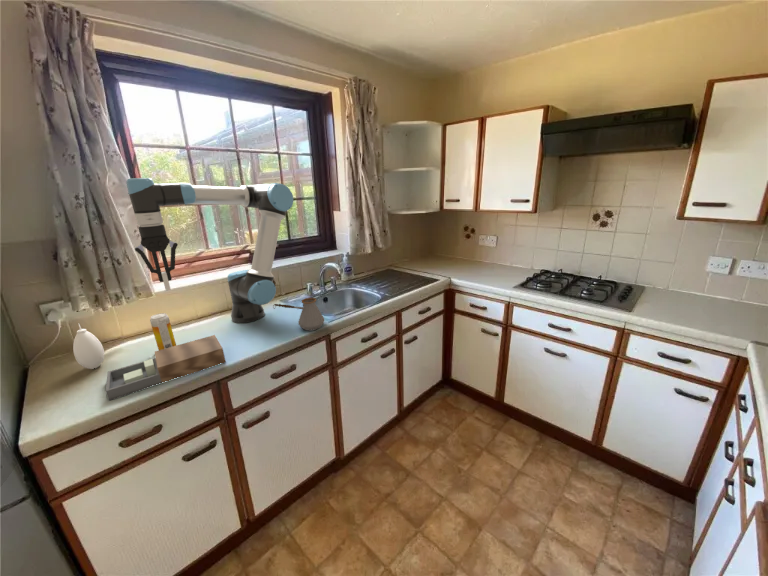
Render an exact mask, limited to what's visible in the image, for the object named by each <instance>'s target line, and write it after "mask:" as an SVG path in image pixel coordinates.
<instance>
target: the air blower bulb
mask: <svg viewBox="0 0 768 576" xmlns="http://www.w3.org/2000/svg"><path fill="white" fill-rule="evenodd" d="M77 324H78V327H79V329H78V330H77V331H76V335H75V336H74V339H73V345H72V346H73V347H72V348H73V349H72V350H73V355H74V358H75V360H76V362H77V363H78V365H80V366H81V367H83V368H84V369H89V370H92V369H93V370H95V369H97V368H99V367H100V366H101V364H102V363H104V359H105V350H104V346H103V344H102V342H101V341H100V340H99V339H98V337H97V336H96V335H94V334H93V333H92V332H90V331H88V330H87V328H82V326H81V325H80V323H79V322H78V323H77ZM94 368H95V369H94Z"/></svg>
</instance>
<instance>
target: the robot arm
mask: <svg viewBox="0 0 768 576" xmlns="http://www.w3.org/2000/svg"><path fill="white" fill-rule="evenodd" d="M126 188H127V194H128V196H129V199H130V203H131V207H132V210H133V213H134V217H135V221H136V225H137V226H138V232H139V236H140V239H141V240H140V244H139V245H138V246H134V250H135V252H136V253H138V254H139V255H140V257H141V258H142V261H143V262H144V263H145V265H146V266H147V268H148V270H149V271H150V273H151V274H157V277H158V281H159V283H163V285H164V289H165V292H166V291H171V290H172V289H171V286H170V285H171V284H170V282H169V281H172V279H173V278H172V274H171V271H173V270H175V269H176V250H177V247H178V243H177V242H176V241H172V240H170V238H169V237H168V235H167V231H166V227H165V225H164V220H163V215H162V212H161V207H167V206H179V205H180V206H181V205H185V206H187V205H207V206H208V205H214V206H215V205H216V206H221V205H222V206H228V205H229V206H242V207H243V208H252V209H257V210H258V212H259V214H260V218H259V226H258V230H257V235H256V241H255V246H254V250H253V251H254V252H253V257H252V261H251V262H252V263H251V266H250V268H249V269H243V270H239V271H233V272H231V273H229V274H228V275H227V283H228V288H229V292H230V296H231V302H232V306H231V307H232V308H231V314H230V318H231V321H232V322H233V323H236V324H237V323H238V324H245V323H252V322H255V321H257V320H260V319H261V318H263V317H264V316H265V309H264V307H263V305H264V306H265V305H266V304H269V303H270V302H272V301H273V299H274V298H275V297H276V292H277V288H276V285H275V283H274V278H275V275H274V274H273V273H272V270H273V265H274V260H275V254H276V248H277V244H278V243H277V242H278V239H279V238H278V237H279V234H280V233H279V232H280V227H281V224H282V223H281V222H282V221H283V220H284V219H286V216H287V212H288V211H289V210H290V209H291V208H292V207H293V205H294V195H293V193H292V191H291V189H290V188H289V187H288V186H287V185H285V184H283V183H278V182H273V183H272V182H271V183H260V184H257V183H256V184H250V185H244V184H242V185H240V187H238V186H237V187H236V186H221V185H220V186H219V185H218V186H217V185H197V184H196V185H195V184H193V185H192V183H189V182H174V183H172V182H171V183H169V182H168V183H155V182H154V180H153V179H152V178H151V177H138V178H137V177H135V178H134V177H133V178H132V177H131V178H127V179H126ZM168 245H169V247H170V265H169V263H168V259H167V255H166V251H165V250H167V247H168ZM144 248H145V249H146V250H147V251H149V252H150V253H151V255H152V258H153V263H154V265H155V268H154V267H153V265H152V263H151V262H150V260H149V258H148V257H147V255H146V254H145V252H144V250H145V249H144ZM157 252H160V255H161V259H162V263H163V266H164V268H163V269H164V271H162V270H161V266H160V262H159V258H158V255H157V254H158V253H157Z"/></svg>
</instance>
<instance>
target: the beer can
mask: <svg viewBox="0 0 768 576" xmlns="http://www.w3.org/2000/svg"><path fill="white" fill-rule="evenodd" d="M170 321H171V320H170V317H169V315H168V313H164V312H163V313H156V314H153V315H151V316H150V319H149V322H150V326H151V329H152V332H153V336H154V339H155V342H156V346H157V349H158V350H157V351H159V350H162V349H166V348H169V347H173V346H177V343H176V340H175V335H174V331H173V329H172V328H173V327H172V326H171V325H172V324H171V322H170Z"/></svg>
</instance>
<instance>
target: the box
mask: <svg viewBox="0 0 768 576" xmlns="http://www.w3.org/2000/svg"><path fill="white" fill-rule="evenodd" d="M152 359H153V363H154V366H155V369H156V375H152V376H149V377H148V376H147V372H146V369H145V365H144V361H145V360H144V361H140V362H136V363H134V364H130V365H126V366H123V367H119V368H115V369H112V370H109V371H107V375H106V385H105V393H106V396H107V399H108V401H112V400H116V399H118V398H119V399H120V398H122V397H124V396H128V395H131V394H134V393H137V392H139V390H141V391H143V390H142V389H144V388H147V387H150V386H152V385H156V384H159V383H162V381H161V378H160V375H159V371H158V368H157V363H156V357H154V358H152ZM138 369H142V372H143V376H144V378H143V379H140V380H136V381H133V382H130V383H127V384H125V381H124V375H123V374H126V373H129V372H132V371H135V370H138ZM162 384H163V383H162ZM159 385H160V384H159ZM156 386H157V385H156ZM150 388H151V387H150ZM147 389H148V388H147ZM144 390H145V389H144ZM136 391H137V392H136ZM133 392H134V393H133Z"/></svg>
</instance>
